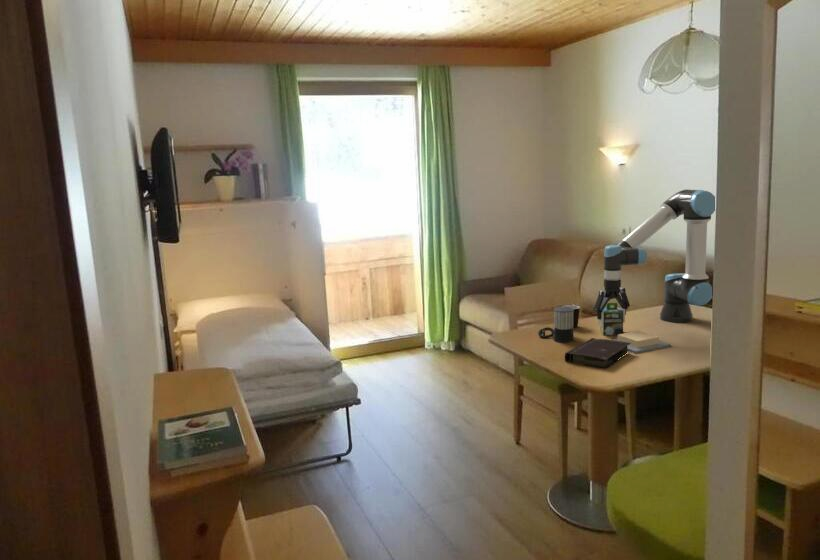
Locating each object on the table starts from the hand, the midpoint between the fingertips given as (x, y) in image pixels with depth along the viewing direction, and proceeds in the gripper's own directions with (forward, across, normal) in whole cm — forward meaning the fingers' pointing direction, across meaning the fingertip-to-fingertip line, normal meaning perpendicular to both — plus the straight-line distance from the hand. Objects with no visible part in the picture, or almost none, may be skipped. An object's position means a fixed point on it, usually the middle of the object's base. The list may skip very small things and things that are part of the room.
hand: (611, 323), depth 285 cm
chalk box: (+5, 0, 0) cm, 5 cm away
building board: (+4, +3, +20) cm, 21 cm away
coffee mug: (+5, +8, -20) cm, 22 cm away
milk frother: (+5, +27, -6) cm, 28 cm away
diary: (+5, +29, +25) cm, 39 cm away
